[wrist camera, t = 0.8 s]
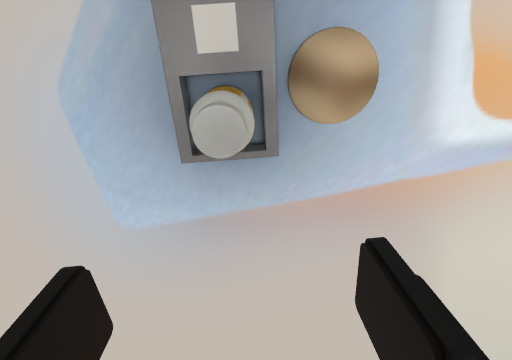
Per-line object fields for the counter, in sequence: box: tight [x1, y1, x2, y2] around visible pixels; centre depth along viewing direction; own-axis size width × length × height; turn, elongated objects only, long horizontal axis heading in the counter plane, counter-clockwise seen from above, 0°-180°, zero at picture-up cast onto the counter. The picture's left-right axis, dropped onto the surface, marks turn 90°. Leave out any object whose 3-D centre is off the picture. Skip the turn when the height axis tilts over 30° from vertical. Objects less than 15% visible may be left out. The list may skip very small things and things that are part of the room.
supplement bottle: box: [189, 85, 255, 159], centre depth 24 cm, size 5×5×10 cm
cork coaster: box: [288, 27, 379, 124], centre depth 27 cm, size 9×9×1 cm
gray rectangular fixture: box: [151, 0, 278, 163], centre depth 25 cm, size 16×10×3 cm, turn 4°
